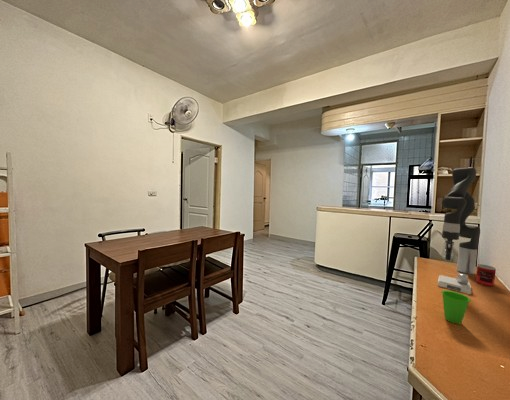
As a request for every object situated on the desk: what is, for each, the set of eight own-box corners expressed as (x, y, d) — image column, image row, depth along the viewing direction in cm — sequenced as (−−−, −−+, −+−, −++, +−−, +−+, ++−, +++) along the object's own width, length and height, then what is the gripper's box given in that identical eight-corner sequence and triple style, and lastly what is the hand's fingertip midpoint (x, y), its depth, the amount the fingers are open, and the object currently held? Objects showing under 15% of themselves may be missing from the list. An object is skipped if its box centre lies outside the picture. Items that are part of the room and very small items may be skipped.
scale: (438, 279, 138) (439, 274, 137) (469, 286, 128) (470, 281, 128) (437, 285, 127) (437, 280, 127) (471, 294, 117) (471, 289, 117)
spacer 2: (457, 280, 128) (457, 272, 128) (467, 283, 125) (468, 274, 125) (457, 282, 125) (457, 274, 125) (467, 285, 122) (468, 276, 122)
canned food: (485, 281, 137) (487, 264, 137) (498, 287, 129) (500, 269, 129) (472, 280, 138) (473, 263, 137) (483, 286, 130) (485, 268, 129)
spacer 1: (443, 257, 133) (443, 249, 132) (452, 259, 130) (453, 251, 129) (442, 259, 129) (443, 251, 129) (452, 261, 126) (453, 252, 126)
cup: (460, 317, 95) (462, 292, 94) (473, 329, 86) (476, 302, 85) (435, 312, 97) (437, 288, 97) (445, 324, 89) (447, 298, 88)
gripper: (443, 228, 136) (440, 255, 137) (441, 230, 126) (439, 259, 127) (459, 230, 131) (456, 258, 132) (459, 233, 121) (456, 263, 122)
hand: (447, 258), depth 129 cm, fingers closed on spacer 1, 4 cm apart
